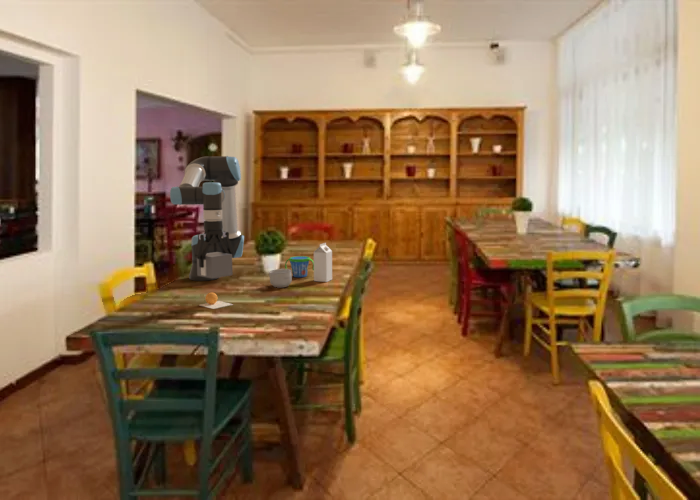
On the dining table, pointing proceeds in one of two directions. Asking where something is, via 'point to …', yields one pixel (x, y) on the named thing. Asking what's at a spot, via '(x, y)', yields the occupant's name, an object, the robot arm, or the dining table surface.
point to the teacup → (280, 277)
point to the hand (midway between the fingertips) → (214, 273)
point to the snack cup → (299, 265)
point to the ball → (211, 298)
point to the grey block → (216, 265)
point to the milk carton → (323, 263)
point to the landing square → (216, 305)
